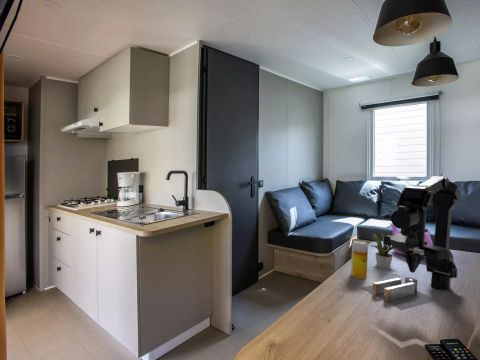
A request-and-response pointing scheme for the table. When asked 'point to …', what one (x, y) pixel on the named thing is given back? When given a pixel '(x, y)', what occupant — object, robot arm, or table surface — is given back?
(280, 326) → the table surface
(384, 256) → the house plant
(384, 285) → the arm
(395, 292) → the tongs hinged arm
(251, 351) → the table surface
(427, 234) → the teapot
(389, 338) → the table surface
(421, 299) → the charcoal mat
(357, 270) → the beer can
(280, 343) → the table surface
